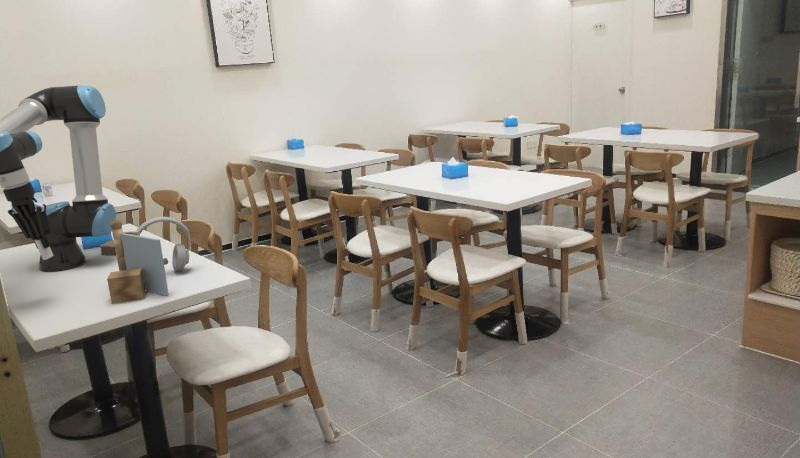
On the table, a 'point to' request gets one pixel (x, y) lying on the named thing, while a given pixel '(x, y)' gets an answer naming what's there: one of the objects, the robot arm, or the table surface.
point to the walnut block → (126, 285)
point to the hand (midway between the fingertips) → (48, 257)
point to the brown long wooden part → (116, 231)
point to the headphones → (179, 251)
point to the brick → (108, 248)
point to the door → (146, 260)
